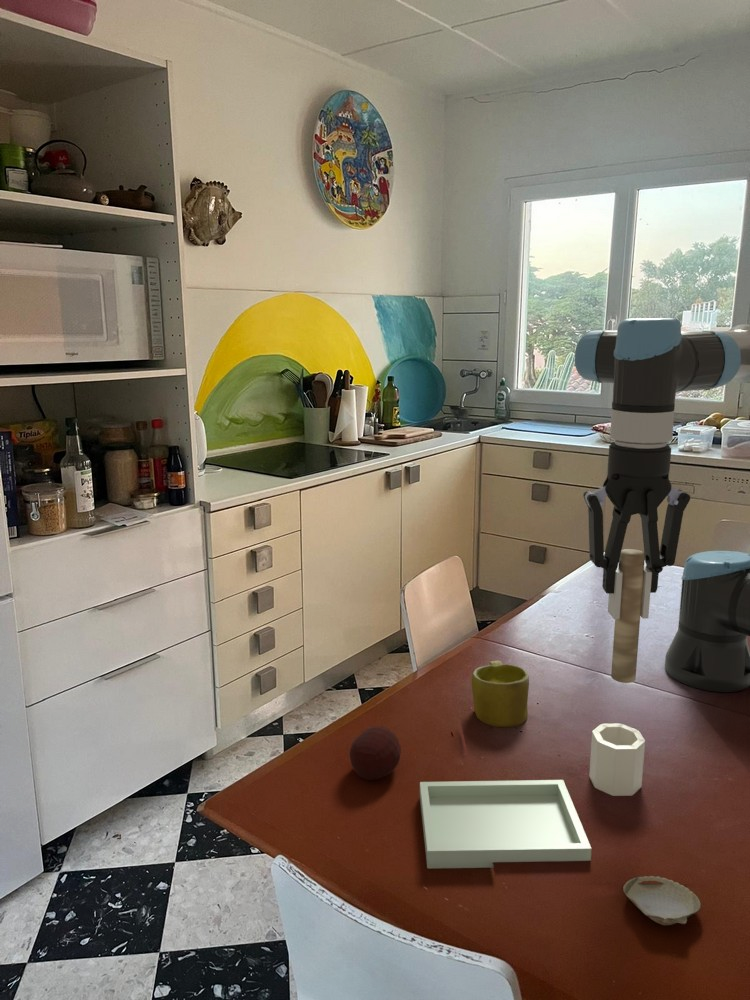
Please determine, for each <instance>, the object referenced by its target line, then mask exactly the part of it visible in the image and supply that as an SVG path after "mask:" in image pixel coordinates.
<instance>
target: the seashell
mask: <svg viewBox="0 0 750 1000" xmlns="http://www.w3.org/2000/svg"><path fill="white" fill-rule="evenodd" d="M650 881H651V882H654V881H655V882H658V883H643V882H650ZM622 890H623V892H624V894H625V896H626V897H627V898H628V900H630V901H631V903H632V904H633V905H634V906H635V907H636V908H638V910H639V911H641V912H642V913H643V914H644V915H645V916H646V917H648V918H649V919H650V920H651V921H654V922H655V923H657V924H659V925H662V926H671V925H674V924H677V923H678V924H682V925H686V924H687V921H688V918H689V917H692V916H694V914H696V913H697V912H699V911H700V910H701V907H702V903H701V901H700V899H699V897H698V895H697V894H695V892H694V891H692V890H691V889H690V888H688V887H686V886H685V885H683V884H681V883H680V882H677V881H674V880H672V879H668V878H665V877H661V876H653V875H649V876H647V875H644V876H637V877H633V878H631V879H629V880H628V881H626V882H625V884H624V885H623V889H622Z"/></svg>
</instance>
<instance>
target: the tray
mask: <svg viewBox="0 0 750 1000" xmlns="http://www.w3.org/2000/svg"><path fill="white" fill-rule="evenodd" d="M419 802H420V803H419V804H420V812H421V822H422V823H421V824H422V830H423V831H422V832H423V841H424V851H425V860H426V868H427V869H428V870H429V869H477V868H479V869H480V868H481V869H483V868H484V869H485V868H486V869H487V868H488V869H489V868H491V869H492V868H495V867H494V863H523V862H524V863H528V862H529V863H531V862H533V863H535V862H536V863H537V862H538V863H540V862H591V860H592V859H591V858H592V850H593V849H592V847H591V844H590V841H589V839H588V837H587V834H586V831H585V829H584V827H583V824H582V822H581V820H580V818H579V814H578V813H577V812H578V811H577V810H576V808H575V805H574V803H573V800H572V798H571V795H570V793H569V791H568V788H567V786H566V784H565V781H564V779H540V780H539V779H538V780H537V779H536V780H535V779H532V780H531V779H527V780H524V779H523V780H470V781H469V780H467V781H465V780H464V781H462V780H461V781H459V780H457V781H420V782H419Z"/></svg>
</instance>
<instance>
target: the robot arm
mask: <svg viewBox="0 0 750 1000" xmlns="http://www.w3.org/2000/svg"><path fill="white" fill-rule="evenodd" d="M573 361H574V367H575V369H576V371H577V373H578V375H579V376H580V377H581V378H582V379H584V380H586V381H591V382H597V383H599V384H604V383H605V384H613V387H612V388H613V390H612V402H611V417H610V428H609V429H610V430H609V438H610V439H611V440H612V442H611V443H610V445H609V446H608V459H607V476H606V478H605V480H604V482H603V484H602V487H599V488H598V489H596V490H593V491H590V490H586V491H585V492H583V495H582V497H583V498H584V501H585V504H586V506H587V508H588V509H587V510H588V511H587V513H588V544H589V545H588V547H589V548H588V549H589V552H588V553H589V559H590V561H591V562H592V564H593V565H594V566H595V567H596V568H602V569H603V571H602V589H603V591H604V592H605V593H606V594H608V602H607V603H608V604H607V613H608V614H609V615H610V617H612V619H613V620H615V619H619V618H620V604H621V590H622V576H623V572H622V571H621V570H619V559H620V554H621V550H623V545H624V542H625V541H624V540H625V536H626V532H627V529H628V524H629V523H630V521H631V518H632V516H633V515H634V516H635V515H639V516H640V519H641V520H640V521H641V532H642V540H643V541H642V542H643V550H644V551H643V552H644V553H645V562H644V575H643V588H642V601H641V614H640V618H642V619H649V613H650V604H651V603H650V602H651V594H654V593H655V594H656V593H657V591H658V587H659V586H658V585H659V575H660V573H661V572H663V569H664V568H665V567H672V566H674V565H675V562H676V558H677V553H678V551H677V550H678V547H679V546H678V545H679V540H680V534H681V529H682V523H683V522H682V521H683V517H684V512H685V510H686V508H687V506H688V505H689V502H691V501H690V500H691V495H690V494H689V493H687V492H685V491H684V490H682V489H679V488H678V489H676V488H674V487H672V483H671V481H670V477H669V475H670V470H671V459H672V457H671V456H672V447H671V446H670V445H669V444H668V443H670V442H671V441H673V432H674V419H675V404H676V394H677V393H681V392H691V391H700V390H701V391H703V390H704V391H710V390H711V389H712V390H713V389H715V388H720V387H723V386H725V385H727V384H729V383H730V382H733V383H738V384H745V383H746V384H750V324H739V325H738V324H737V325H736V326H733V327H731V328H730V329H728V330H682V325H681V322H680V320H679V319H678V318H673V317H669V318H668V317H666V318H664V317H656V318H655V317H650V318H649V317H645V318H644V317H643V318H642V317H641V318H626V319H623V320H622V321H621V322H620V323H619V324H618V326H617V330H615V329H614V330H613V329H612V330H611V329H606V328H605V329H602V330H601V329H599V330H598V329H597V330H591V331H588V332H586V333H585V334H584V335H582V336H581V338H580V339H579V340H578V341H577V345H576V346H575V350H574V360H573ZM606 497H607V498H608V499H609V500H610V502H611V503H612V505H613V510H612V520H611V523H610V529H609V533H608V537H607V542H606V545H605V546H604V514H603V513H604V512H603V508H602V507H603V506H605V504H606V503H605V499H606ZM665 499H666V502H667V505H666V506H667V507H666V511H665V517H664V523H663V527H662V529H663V530H662V536H661V539H660V540H661V541H660V542H659V533H658V531H659V530H658V521H659V516H658V514H659V513H658V508H659V506H660V505H661V504H662V503H663V501H664V500H665ZM604 549H605V550H604ZM681 580H682V581H681V591H680V604H679V616H678V626H677V627H678V628H677V631H676V633H675V634H674V637H673V639H672V640H671V643H670V645H669V647H668V649H667V651H666V654H665V659H664V669H665V671H666V673H667V674H668V675H669V676H670V677H671V678H673V679H674V680H675V681H678V682H680V683H682V684H684V685H686V686H690V687H692V688H694V689H697V690H699V689H700V690H702V691H703V690H704V691H708V692H709V691H710V692H716V693H717V692H718V693H731V692H738V691H739V692H740V691H743V690H745V689H747V688H749V687H750V647H749V644H748V637H750V553H747V552H741V551H736V550H735V551H733V550H732V551H731V550H708V551H700V552H696V553H694V554H691V555H690V556H689V557H687V559H686V560H685V562H684V566H683V572H682V576H681Z"/></svg>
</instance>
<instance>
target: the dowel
mask: <svg viewBox="0 0 750 1000" xmlns="http://www.w3.org/2000/svg"><path fill="white" fill-rule="evenodd" d="M644 565H645V553H644V551H642V550H639V549H634V548H633V549H632V548H624V549H622V550H621V554H620V559H619V563H618V568H619V570H621V571H622V572H623V576H622V590H621V604H620V618H619V619H614V629H613V643H612V655H611V656H612V661H611V670H610V671H611V673H610V678H612V680H614V681H616V682H619V683H622V684H629V683H633V682H635V681H636V677H637V664H638V663H637V662H638V654H639V653H638V651H639V640H640V639H639V637H640V623H641V616H640V614H641V601H642V588H643V575H644Z"/></svg>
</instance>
